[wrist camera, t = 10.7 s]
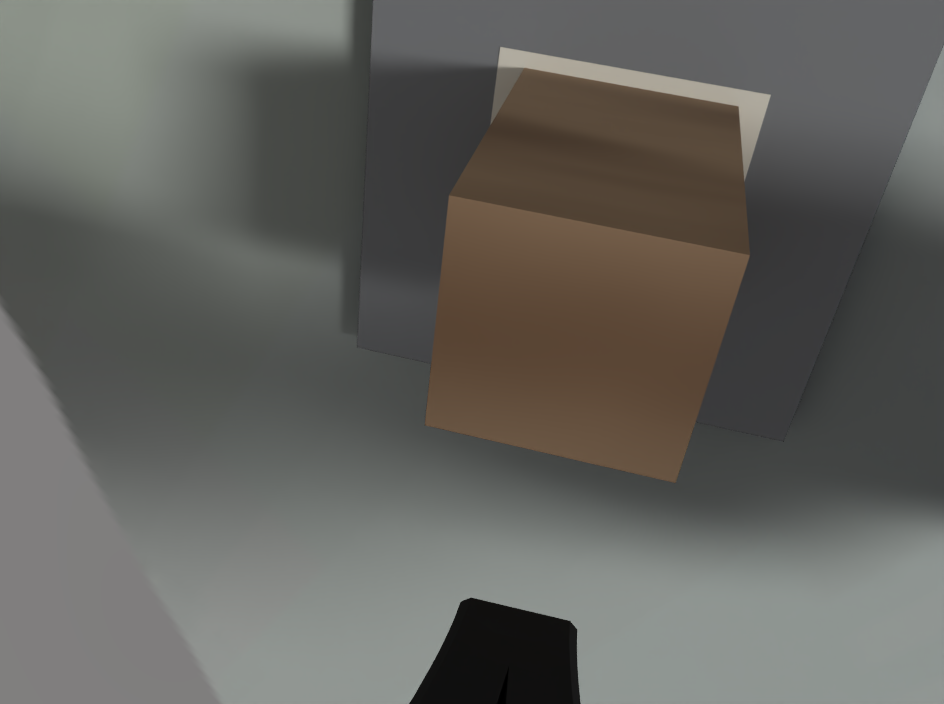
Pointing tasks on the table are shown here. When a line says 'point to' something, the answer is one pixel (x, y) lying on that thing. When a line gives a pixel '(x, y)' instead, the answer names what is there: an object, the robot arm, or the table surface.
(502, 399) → the block
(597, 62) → the pad
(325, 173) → the table surface
